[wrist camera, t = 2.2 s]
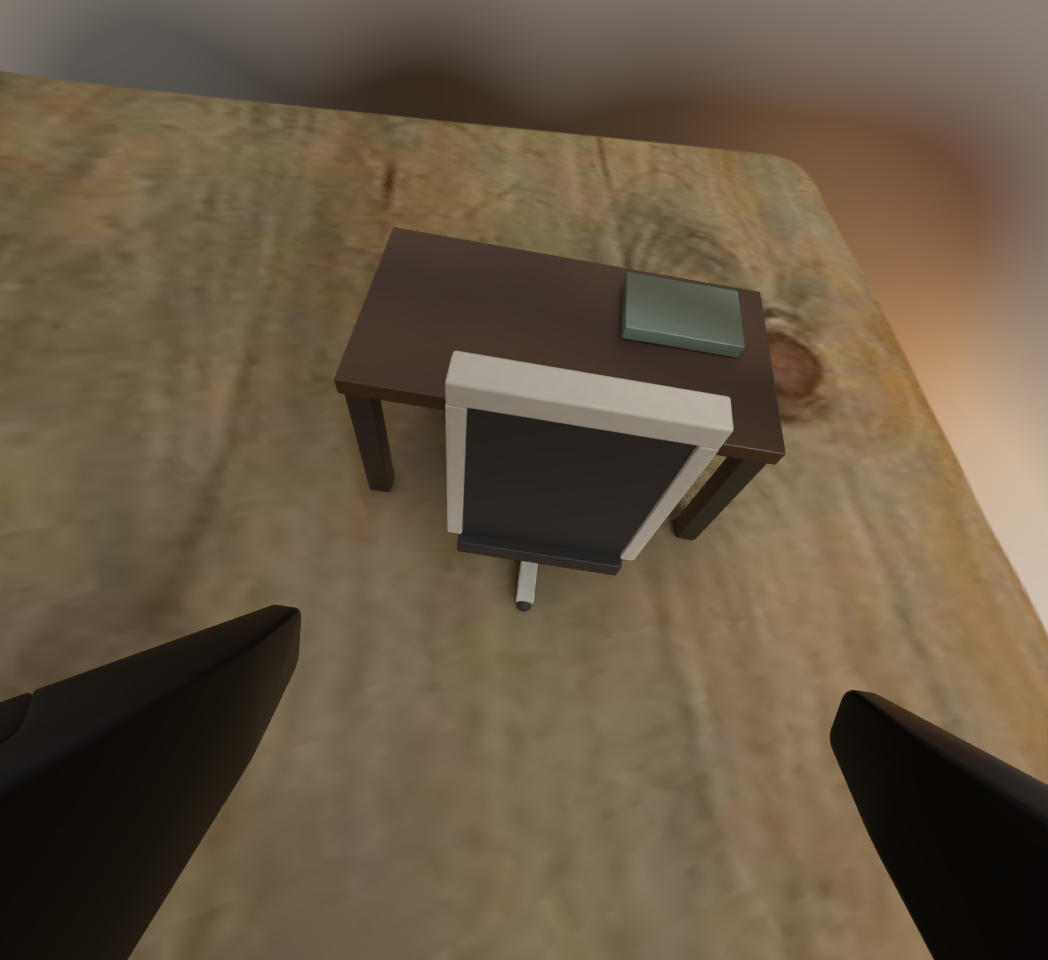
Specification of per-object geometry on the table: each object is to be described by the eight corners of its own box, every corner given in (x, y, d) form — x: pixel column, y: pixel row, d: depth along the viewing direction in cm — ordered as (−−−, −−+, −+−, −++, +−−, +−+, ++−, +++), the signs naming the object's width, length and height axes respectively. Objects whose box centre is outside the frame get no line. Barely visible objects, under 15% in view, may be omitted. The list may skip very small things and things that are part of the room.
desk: (697, 544, 24) (796, 444, 17) (365, 492, 24) (329, 366, 17) (690, 405, 28) (767, 279, 22) (406, 357, 28) (391, 212, 21)
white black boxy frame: (609, 626, 22) (757, 468, 11) (433, 599, 22) (416, 412, 11) (615, 475, 26) (730, 250, 15) (464, 451, 25) (473, 204, 15)
